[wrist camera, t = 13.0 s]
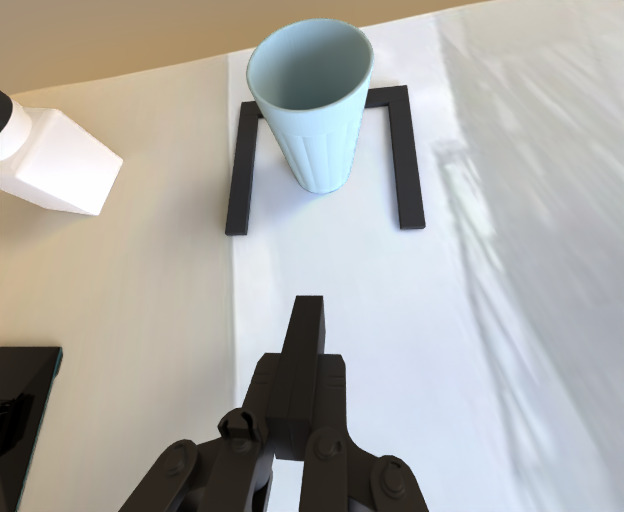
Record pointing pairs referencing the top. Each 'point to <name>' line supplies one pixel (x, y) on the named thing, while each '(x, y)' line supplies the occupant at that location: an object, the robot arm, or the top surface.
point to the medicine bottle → (53, 160)
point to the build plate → (22, 413)
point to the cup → (314, 96)
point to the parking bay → (402, 156)
